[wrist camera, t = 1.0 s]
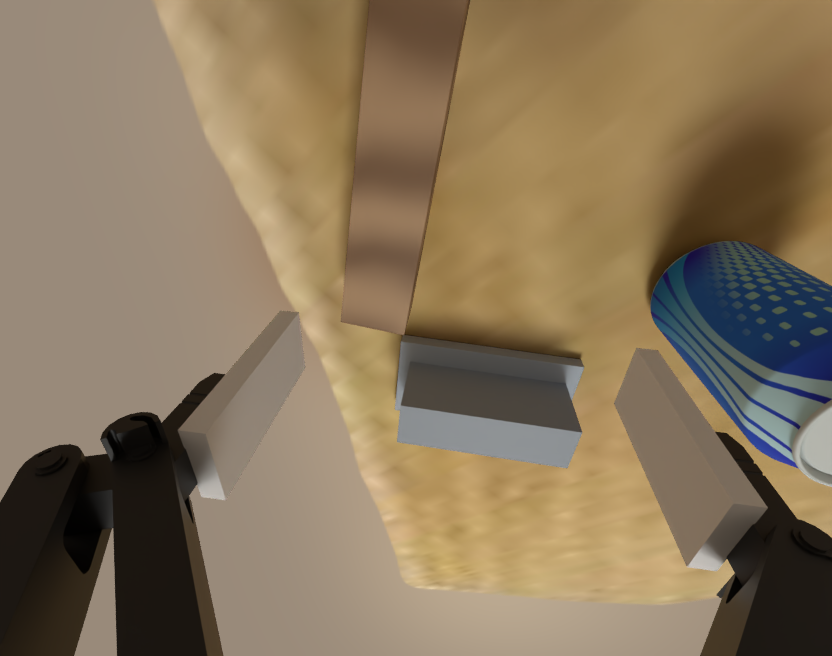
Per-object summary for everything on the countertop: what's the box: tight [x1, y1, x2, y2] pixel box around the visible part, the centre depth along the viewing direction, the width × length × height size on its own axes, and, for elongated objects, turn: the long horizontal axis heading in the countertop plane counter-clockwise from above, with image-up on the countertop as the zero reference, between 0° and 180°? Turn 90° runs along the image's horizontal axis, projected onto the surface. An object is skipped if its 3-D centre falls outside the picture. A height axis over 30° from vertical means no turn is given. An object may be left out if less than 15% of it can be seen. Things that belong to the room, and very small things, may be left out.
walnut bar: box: [341, 0, 470, 335], centre depth 27 cm, size 24×5×5 cm, turn 170°
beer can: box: [650, 241, 832, 487], centre depth 24 cm, size 8×8×16 cm
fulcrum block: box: [395, 335, 584, 468], centre depth 35 cm, size 8×16×7 cm, turn 85°
